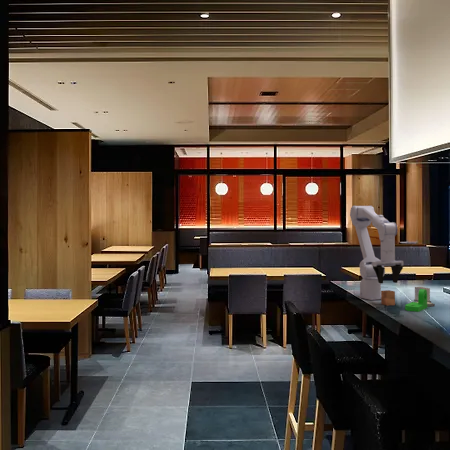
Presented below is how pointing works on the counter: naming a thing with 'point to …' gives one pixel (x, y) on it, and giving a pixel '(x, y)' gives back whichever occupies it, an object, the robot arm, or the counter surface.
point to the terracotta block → (388, 297)
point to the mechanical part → (420, 304)
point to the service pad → (430, 304)
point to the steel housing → (418, 292)
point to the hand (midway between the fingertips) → (387, 282)
